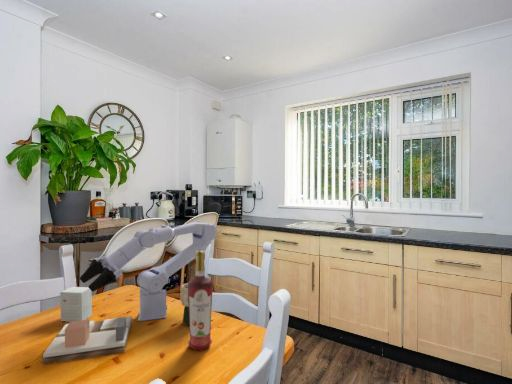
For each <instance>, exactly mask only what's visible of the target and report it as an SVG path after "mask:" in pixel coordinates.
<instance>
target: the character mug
mask: <svg viewBox="0 0 512 384" xmlns="http://www.w3.org/2000/svg"><path fill="white" fill-rule="evenodd" d="M187 283H188V282H187ZM187 283H186V282H185V283H183V284H182V285H181V286H180V287H181V288H180V289H181V293H180V294H181V297H180V298H181V305H182V306H184V309H183V315H182V323H184V324H186V325H189V306H188V285H187Z"/></svg>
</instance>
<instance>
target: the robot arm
mask: <svg viewBox="0 0 512 384" xmlns="http://www.w3.org/2000/svg"><path fill="white" fill-rule="evenodd" d="M187 234H192V235H191V236H192V243H191V244H190V245H189V246H187V247H186V248H184V249H183V250H181V251H180V252H178V253H177V254H175V255H174V256H172V257H171V258H169V259H168V260H167V261H164V263H162V264H160V265H158V266H154V267H151V268H150V269H147V270H143V271H142V272H140V273H139V274H138V276H137V278H136V283H137V285H138V286H139V288H140V289H139V312H138V318H137V321H138V322H142V321H151V320H158V319H167V310H168V304H167V290H166V289H163V288H164V286H165V285H166V284H167V283H169V277H171V276H172V275H174V274H175V273H176V272H178V271H179V270H180V269H182V268H184V267H185V266H186V265H188V264H190V263H191V262H192V261H194V260H196V251H205V252H206V250H207V248H208V247H209V245H210V244H211V242H212V241H213V240H215V239H216V236H217V227H216V225H215V224H213V223H211V222H203V221H197V222H196V221H195V222H194V221H193V222H190V223H185V224H182V225H178V226H175V227H171V226H169V225H166V224H161V226H159V227H156V228H153V227H150V228H149V229H148V230H145V229H142V230H139V231H136V232H135V233H134V235H133V237H132V238H131V239H129V240H128V241H127V242H125V243H124V244H123V245H121V246H120V247H119V248H118V249H116V250H115V251H114V252H112V253H111V254H110V255H108V256H106V255H103V256H102V255H101V256H100V257H98V258H97V259H96V258H93V259H92V260H91V263H90V264H89V266H88V267H87V269H86V270H85V271H84V273H82V275H81V276H79V278H78V279H79V280H80V281H81V282H82V284H85V283H87V282H89V281H90V280H91V279H93V278H94V277H97V276H98V277H97V278H95V279H94V280H93V281H92V282H91V283H90V284H89V285H88V286H87V287H89V289H90V290H91V293H93V292H96V291H98V290H99V289H101V288H104V287H106V286H109V285H111V284H115V283H117V282H118V280H117V279H119V278H121V276H122V275H123V272H122V271H121V269H122V268H123V267H124V266H126V265H127V264H128V263H129V262H131V261H132V260H133V259H134V258H136V257H137V256H139V254H141V253H142V252H143V251H145V249H148V248H150V249H151V248H153V247H154V246H155V245H157V244H162V243H166V242H169V241H172V240H173V238H174V237H177V236H183V235H187ZM116 278H117V279H116Z"/></svg>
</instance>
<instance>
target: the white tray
mask: <svg viewBox="0 0 512 384" xmlns="http://www.w3.org/2000/svg"><path fill="white" fill-rule="evenodd" d="M119 318H120V319H119V320H118V323H117V326H116V330H109V331H102V332H94V333H90V336H89V338H88V340H87V342H86V344H85V345H79V346H72V347H65V336H63V337H58V336H55V337H54V339H52V341H51V343H50V344H49V345H48V347H47V348H46V349H45V351H44V352H43V354H42V357H43V358H45V357H52V356H59V355H66V354H73V353H79V352H86V351H93V350H100V349H107V348H114V347H121V346H125V343H126V339H127V335H128V328H126V318H122V317H119ZM128 336H129V335H128ZM127 340H128V339H127ZM126 344H127V343H126Z"/></svg>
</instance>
